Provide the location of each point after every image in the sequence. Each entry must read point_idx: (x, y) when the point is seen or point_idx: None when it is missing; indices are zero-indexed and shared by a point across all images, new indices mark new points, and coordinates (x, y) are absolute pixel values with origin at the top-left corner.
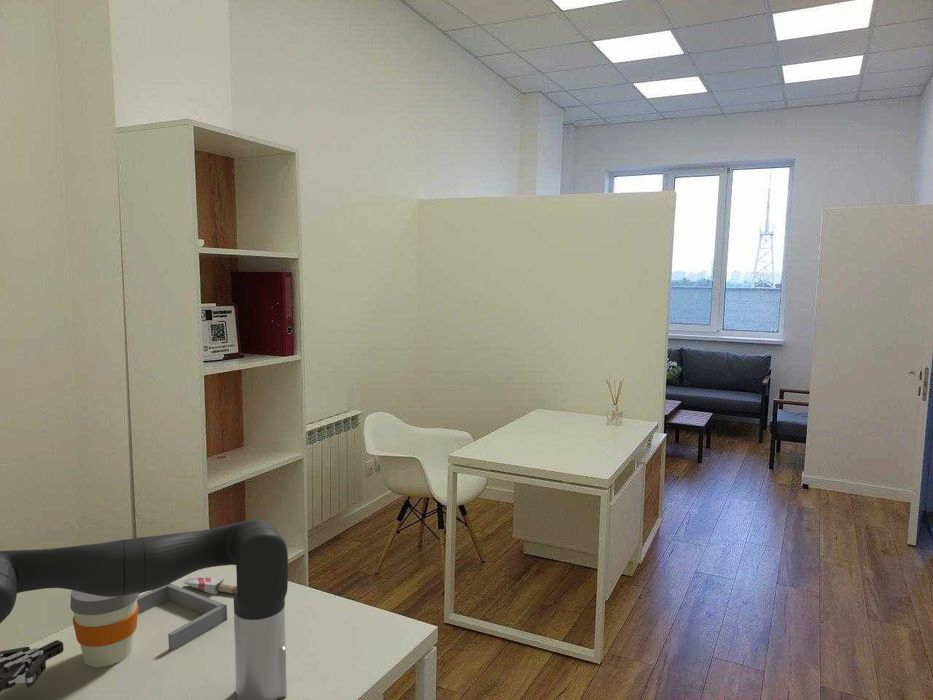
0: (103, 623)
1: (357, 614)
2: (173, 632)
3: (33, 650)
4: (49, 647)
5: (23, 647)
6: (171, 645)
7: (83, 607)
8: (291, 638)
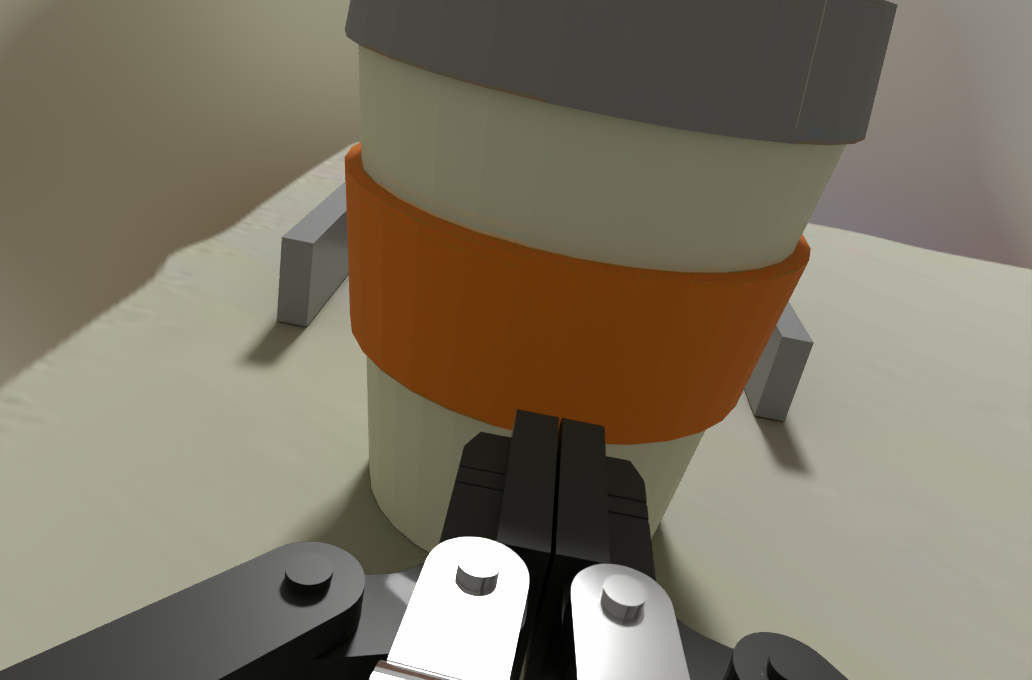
0: (781, 242)
1: (1003, 271)
2: (791, 330)
3: (486, 590)
4: (605, 505)
5: (240, 571)
6: (786, 396)
7: (743, 50)
8: (1025, 340)
